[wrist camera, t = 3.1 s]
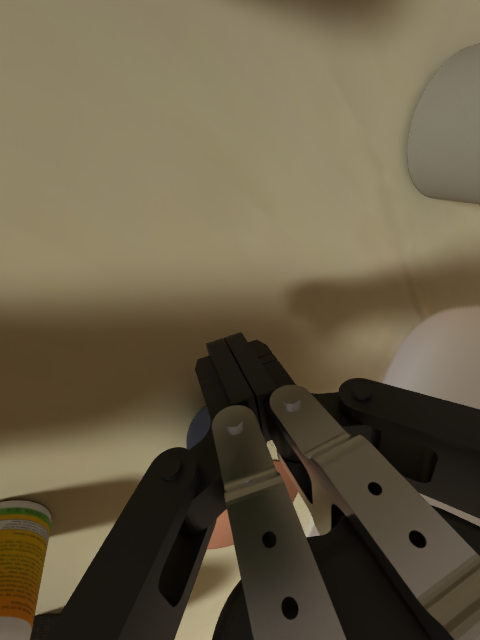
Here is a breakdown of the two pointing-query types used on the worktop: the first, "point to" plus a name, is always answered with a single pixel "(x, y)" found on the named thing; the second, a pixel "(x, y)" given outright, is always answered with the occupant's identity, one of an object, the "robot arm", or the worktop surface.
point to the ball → (198, 427)
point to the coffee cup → (42, 626)
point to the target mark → (222, 528)
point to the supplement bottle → (21, 565)
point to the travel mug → (449, 132)
